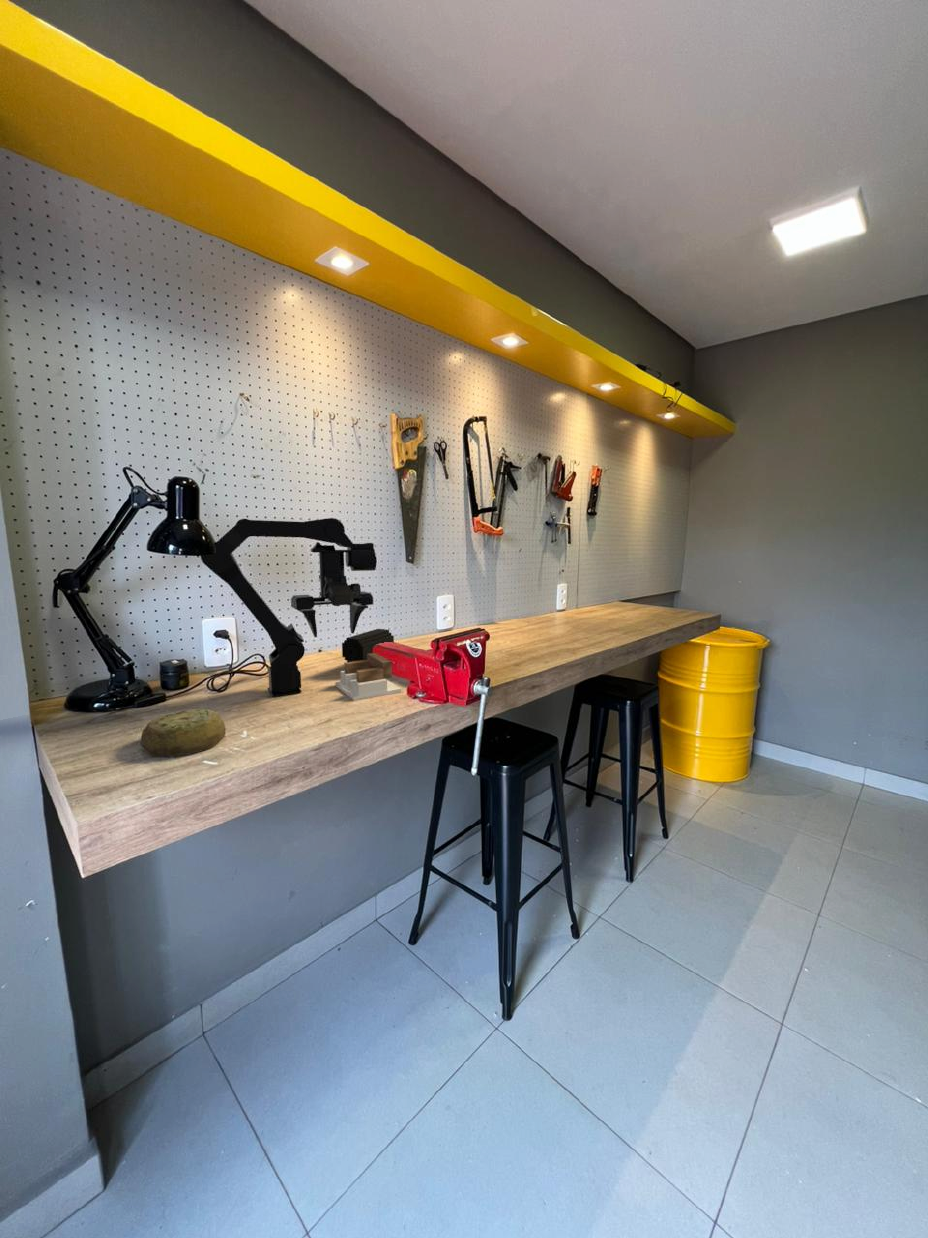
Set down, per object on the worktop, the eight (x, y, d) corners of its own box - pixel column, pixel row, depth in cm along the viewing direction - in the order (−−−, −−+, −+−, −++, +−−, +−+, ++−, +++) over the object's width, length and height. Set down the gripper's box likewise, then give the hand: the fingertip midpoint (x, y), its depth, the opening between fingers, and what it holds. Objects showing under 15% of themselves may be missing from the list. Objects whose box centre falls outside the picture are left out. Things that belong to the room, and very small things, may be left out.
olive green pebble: (167, 728, 96) (164, 704, 95) (237, 727, 97) (236, 703, 96) (125, 760, 83) (121, 732, 82) (207, 759, 84) (205, 731, 83)
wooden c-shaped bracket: (359, 682, 114) (358, 666, 114) (344, 672, 123) (344, 656, 122) (391, 677, 119) (391, 661, 118) (375, 667, 127) (375, 652, 126)
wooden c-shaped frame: (353, 700, 113) (353, 685, 112) (335, 685, 123) (334, 672, 123) (401, 692, 119) (401, 678, 118) (379, 678, 130) (379, 665, 129)
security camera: (399, 661, 147) (399, 628, 145) (361, 677, 130) (361, 640, 129) (380, 658, 150) (379, 626, 148) (341, 674, 133) (339, 638, 132)
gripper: (301, 575, 106) (304, 646, 109) (381, 572, 116) (382, 637, 119) (288, 571, 116) (292, 636, 118) (364, 569, 126) (365, 629, 128)
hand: (334, 635), depth 121 cm, fingers open, 9 cm apart
